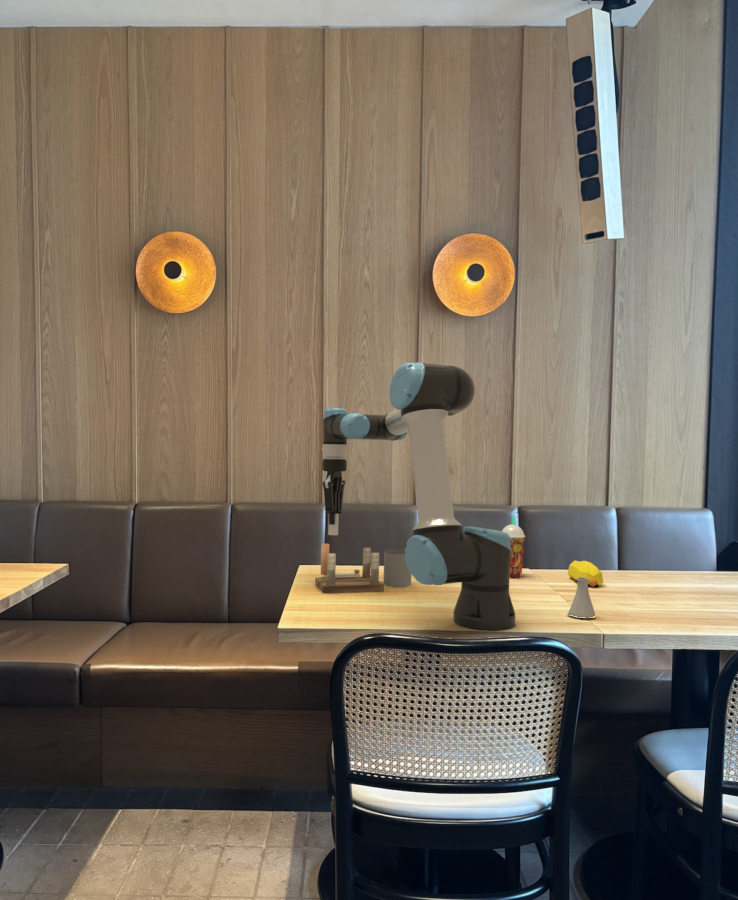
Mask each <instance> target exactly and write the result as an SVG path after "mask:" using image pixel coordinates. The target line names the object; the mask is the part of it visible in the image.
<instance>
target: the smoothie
mask: <svg viewBox="0 0 738 900" xmlns="http://www.w3.org/2000/svg"><path fill="white" fill-rule="evenodd" d="M501 531H502V532H506V533H507V534H508V535H509V536H510V548H511V556H510V577H518V578H520V577H519V576H521V575H522V572H523V563H524V562H523V561H524V555H525V554H524V552H525V551H524V550H525V544H526V543H525V542H526V541H525V540H526V535H525V533H524V531H523V529H522V528H521V527H520V526H519V525H517V524H515V516H514V515H513V516H511V524H507V525H505V526H504V527H503V529H502V530H501Z"/></svg>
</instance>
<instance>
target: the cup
mask: <svg viewBox="0 0 738 900" xmlns="http://www.w3.org/2000/svg"><path fill="white" fill-rule="evenodd" d="M383 560H384V562H383V584H384V586H386V587H390V588H407V587H408V588H409V587H411V586H412V574H411V573H410V571H409V569H408V566H407V563H406V558H405V549H387V550H386V549H385V551H384V556H383Z"/></svg>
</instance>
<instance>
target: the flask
mask: <svg viewBox="0 0 738 900" xmlns="http://www.w3.org/2000/svg"><path fill="white" fill-rule="evenodd" d="M576 582H577V587H576V591H575V595H574V597H573V601H572V603H571V605H570V608H569V610H568V612H567V615H568V614H569V615H573V616H577V617H585V618H589V617H593V616H595V614H596V612H595V609H594V606H593V602H592V600H591V596H590V592H589V591H590V590H589V584H588V582H589V578H585V577H577V581H576Z"/></svg>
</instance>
